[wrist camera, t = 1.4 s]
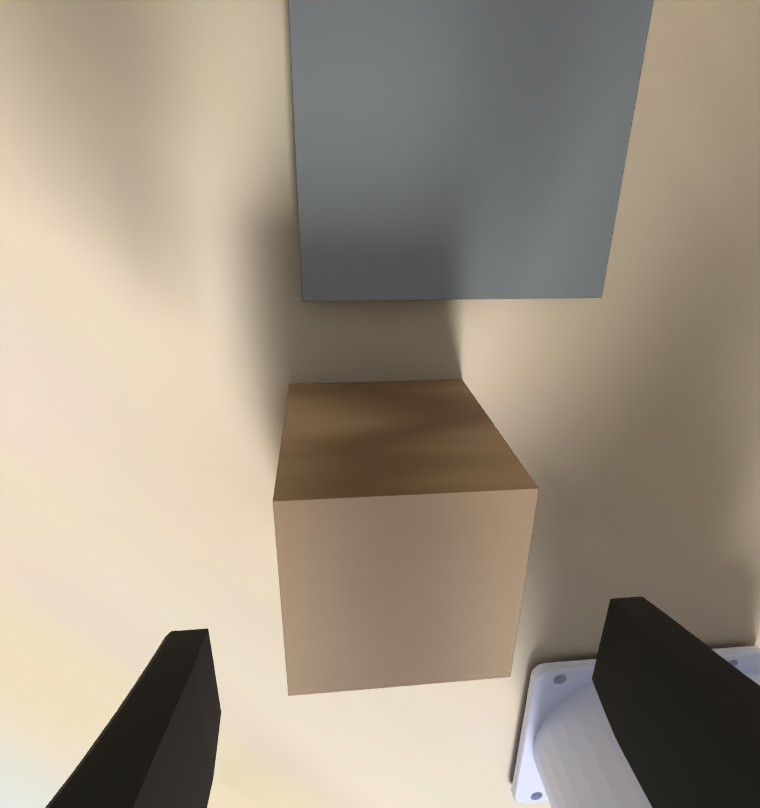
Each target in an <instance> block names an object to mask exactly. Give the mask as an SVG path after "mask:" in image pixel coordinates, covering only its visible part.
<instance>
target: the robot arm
mask: <svg viewBox="0 0 760 808" xmlns="http://www.w3.org/2000/svg"><path fill="white" fill-rule="evenodd" d="M220 717H221V709H220V702H219V696H218V689H217V683H216V676H215V670H214V663H213V657H212V650H211V644H210V638H209V631H208V629H197V630H183V631H171V632H170V633H169V634H168V635H167V636H166V637H165V638H164V640H163V641H162V643H161V645H160V646H159V648H158V649H157V651H156V653H155V654H154V656H153V657H152V659H151V660H150V662H149V664H148V665H147V667H146V668H145V670H144V671H143V673H142V674H141V676H140V677H139V679H138V680H137V682H136V683H135V685H134V686H133V688H132V689H131V691H130V692H129V694H128V695H127V697H126V698H125V700H124V701H123V703H122V704H121V706H120V707H119V709H118V710H117V712H116V713H115V714H114V716H113V717H112V719H111V720H110V721H109V723H108V724H107V726H106V727H105V728H104V730H103V731H102V733H101V734H100V735H99V737H98V738H97V740H96V741H95V742H94V744H93V745H92V747H91V748H90V749H89V751H88V752H87V754H86V755H85V756H84V758H83V759H82V761H81V762H80V763H79V765H78V766H77V767H76V769H75V770H74V771H73V773H72V774H71V775H70V777H69V778H68V779H67V781H66V782H65V783H64V784H63V786H62V787H61V788H60V790H59V791H58V792H57V793H56V795H55V796H54V797H53V799H52V800H51V801H50V802H49V804H48V805H47V806H46V808H207V804H208V800H209V795H210V790H211V786H212V781H213V774H214V767H215V759H216V751H217V743H218V734H219V725H220ZM511 791H512V795H513V798H514V800H515V801H516V802H517V803H520V804H527V803H536V802H545V801H549V803H550V805H551V808H760V648H758V647H757V646H743V647H731V648H719V649H711V648H709V647H708V646H707V645H705V644H704V643H703V642H702V641H700V640H699V639H698V638H696V637H695V636H694V635H692V634H691V633H690V632H689V631H687V630H686V629H685V628H683V627H682V626H681V625H679V624H678V623H677V622H676V621H674V620H673V619H672V618H670V617H669V616H668V615H666V614H665V613H664V612H662V611H661V610H660V609H658V608H657V607H656V606H654V605H653V604H652V603H650V602H649V601H647V600H646V599H645V598H643V597H630V598H617V599H610V603H609V608H608V612H607V616H606V620H605V625H604V629H603V633H602V637H601V642H600V646H599V650H598V654H597V659H587V660H575V661H563V662H551V663H543V664H539V665H538V666H536V667H535V668H534V669H533V670H532V673H531V677H530V683H529V689H528V695H527V701H526V707H525V713H524V718H523V724H522V730H521V736H520V742H519V748H518V754H517V760H516V766H515V771H514V777H513V783H512V789H511Z"/></svg>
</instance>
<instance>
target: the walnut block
mask: <svg viewBox="0 0 760 808" xmlns="http://www.w3.org/2000/svg"><path fill="white" fill-rule="evenodd" d="M538 489H539V488H538V487H537V486H536V484H535V483H534V481H533V480H532V478H531V477H530V476H529V474H528V473H527V471H526V470H525V468H524V467H523V466H522V464H521V463H520V461H519V460H518V459H517V457H516V456H515V454H514V453H513V451H512V450H511V449H510V447H509V446H508V444H507V443H506V441H505V440H504V439H503V437H502V436H501V434H500V433H499V431H498V430H497V429H496V427H495V426H494V424H493V423H492V421H491V420H490V419H489V417H488V416H487V414H486V413H485V411H484V410H483V409H482V407H481V406H480V404H479V403H478V402H477V400H476V399H475V397H474V396H473V394H472V393H471V392H470V390H469V389H468V387H467V386H466V384H465V383H464V382H463V380H425V381H388V382H352V383H315V384H289V390H288V397H287V405H286V412H285V419H284V426H283V433H282V440H281V447H280V454H279V461H278V468H277V475H276V483H275V490H274V497H273V510H274V522H275V535H276V547H277V560H278V573H279V585H280V598H281V610H282V623H283V635H284V648H285V660H286V673H287V685H288V696H291V695H303V694H315V693H327V692H338V691H350V690H362V689H374V688H385V687H397V686H409V685H421V684H432V683H444V682H456V681H468V680H479V679H491V678H503V677H511V670H512V664H513V657H514V650H515V644H516V637H517V630H518V623H519V617H520V610H521V603H522V597H523V590H524V583H525V576H526V570H527V563H528V556H529V550H530V543H531V536H532V529H533V523H534V516H535V509H536V503H537V496H538Z"/></svg>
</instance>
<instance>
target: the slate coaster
mask: <svg viewBox="0 0 760 808" xmlns="http://www.w3.org/2000/svg"><path fill="white" fill-rule="evenodd" d="M652 5H653V0H289V21H290V43H291V65H292V86H293V108H294V129H295V151H296V172H297V194H298V216H299V237H300V259H301V280H302V301H358V300H443V299H529V298H602V292H603V286H604V280H605V275H606V269H607V263H608V257H609V252H610V246H611V240H612V235H613V229H614V223H615V217H616V212H617V206H618V200H619V194H620V189H621V183H622V177H623V172H624V166H625V160H626V154H627V149H628V143H629V137H630V131H631V126H632V120H633V114H634V109H635V103H636V97H637V91H638V86H639V80H640V74H641V68H642V63H643V57H644V51H645V45H646V40H647V34H648V28H649V23H650V17H651V11H652Z"/></svg>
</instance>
